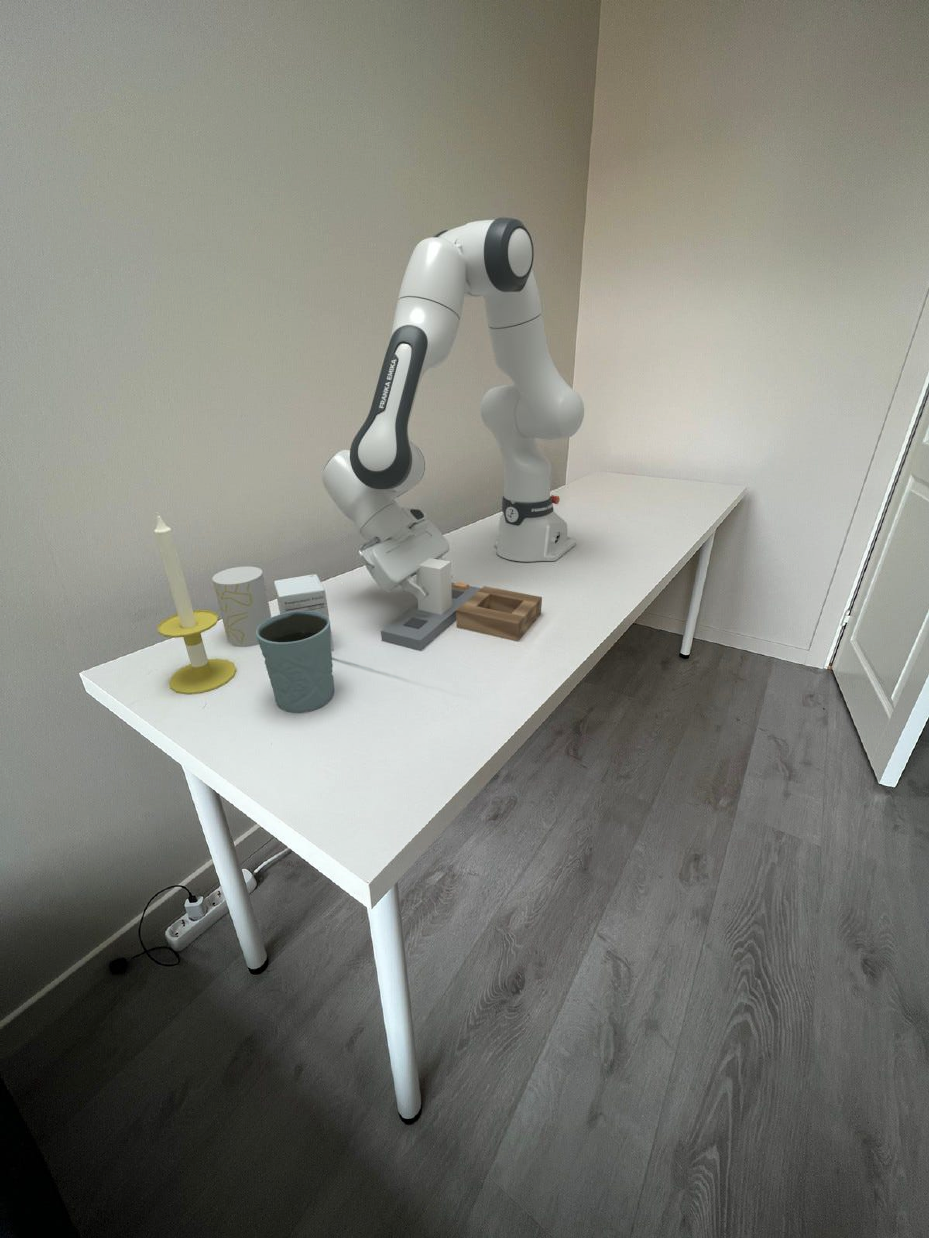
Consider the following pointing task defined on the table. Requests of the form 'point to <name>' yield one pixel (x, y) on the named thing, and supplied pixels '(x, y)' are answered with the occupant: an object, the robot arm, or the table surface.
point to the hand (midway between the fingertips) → (437, 589)
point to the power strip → (426, 621)
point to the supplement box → (302, 596)
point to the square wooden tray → (499, 613)
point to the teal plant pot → (298, 659)
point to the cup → (242, 603)
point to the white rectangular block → (435, 585)
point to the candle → (189, 627)
